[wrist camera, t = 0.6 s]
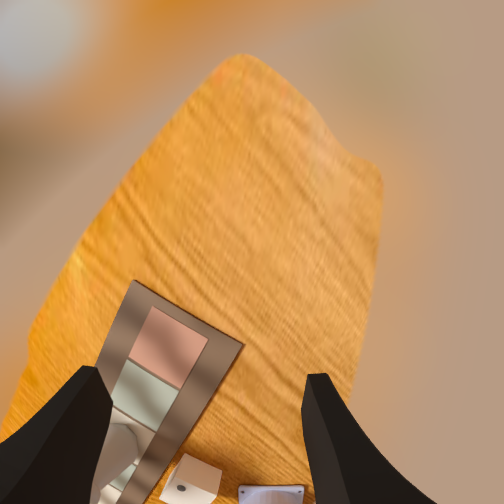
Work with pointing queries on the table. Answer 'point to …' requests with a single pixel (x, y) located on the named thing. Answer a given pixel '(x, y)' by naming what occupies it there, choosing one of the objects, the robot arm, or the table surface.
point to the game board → (158, 382)
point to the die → (192, 482)
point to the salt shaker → (114, 457)
